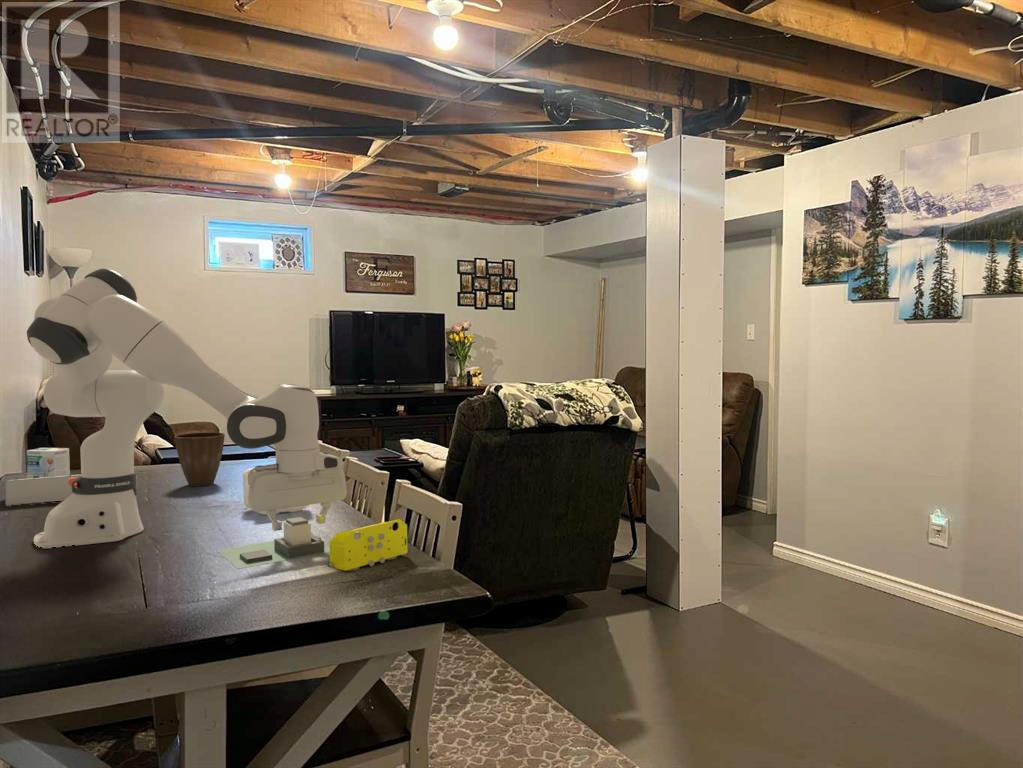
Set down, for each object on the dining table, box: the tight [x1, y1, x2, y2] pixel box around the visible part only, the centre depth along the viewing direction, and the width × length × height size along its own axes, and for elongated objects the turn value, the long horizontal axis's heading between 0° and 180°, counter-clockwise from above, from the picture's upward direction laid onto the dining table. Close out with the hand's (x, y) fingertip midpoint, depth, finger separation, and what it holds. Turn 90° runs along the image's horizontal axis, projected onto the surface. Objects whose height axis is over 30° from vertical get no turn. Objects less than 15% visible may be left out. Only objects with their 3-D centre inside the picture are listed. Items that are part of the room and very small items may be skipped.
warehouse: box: [3, 474, 81, 506], centre depth 219 cm, size 30×14×8 cm, turn 119°
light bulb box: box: [26, 447, 71, 479], centre depth 243 cm, size 11×7×11 cm, turn 81°
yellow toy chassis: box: [329, 519, 408, 572], centre depth 151 cm, size 16×6×8 cm, turn 139°
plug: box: [283, 516, 312, 546], centre depth 154 cm, size 4×5×7 cm
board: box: [215, 534, 330, 570], centre depth 155 cm, size 20×16×4 cm
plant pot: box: [174, 432, 225, 487], centre depth 236 cm, size 15×15×16 cm
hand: (299, 526), depth 155 cm, fingers open, 8 cm apart
